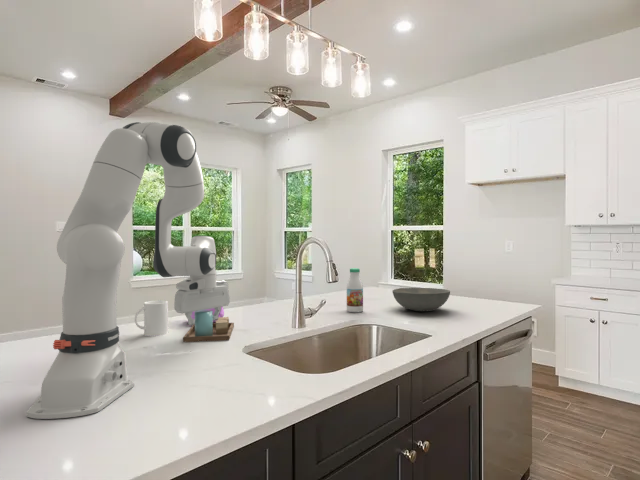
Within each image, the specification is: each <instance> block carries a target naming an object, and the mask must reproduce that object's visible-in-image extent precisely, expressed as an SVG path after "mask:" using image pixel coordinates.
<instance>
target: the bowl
mask: <svg viewBox="0 0 640 480" xmlns="http://www.w3.org/2000/svg"><path fill="white" fill-rule="evenodd" d="M392 295H393V297H394V299H395V301H396V303H398V304H399V305H400V306H401V307H403V308H405V309H407V310H410V311H414V312H431V311H434V310H437V309H440V308H441V307H442V306H444V304H446V302H447V301H448V299H449V298H450V295H451V291H450V290H449V289H445V288H437V287H399V288H395V289H392Z"/></svg>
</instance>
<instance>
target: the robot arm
mask: <svg viewBox="0 0 640 480" xmlns="http://www.w3.org/2000/svg"><path fill="white" fill-rule="evenodd" d="M93 160H94V161H93V163H92V165H91V167H90V170H89V172H88V176H87V178H86V181H85V183H84V185H83V188H82V191H81V192H80V194H79V197H78V199H77V201H76V202H75V204H74V206H73V208H72V210H71V213H70V214H69V216H68V218H67V221H66V222H65V224H64V226H63V228H62V230H61V233H60V235H59V237H58V240H57V242H56V251H57V252H56V253H57V256H58V257H59V259H60V260H61V261H62V262H63V263H64V264H65V265H66V266H65V267H66V269H65V280H64V288H63V295H62V299H61V300H62V301H61V302H62V303H61V304H62V332H61V333H60V337H59V338H58V339H55V340H54V341H53V343H52V347H53V350H58V353H57V355H56V357H55V359H54V361H53V362H52V364H51V365H50V368H49V369H48V371H47V373H46V374H45V377H44V378H43V379H42V382H41V389H40V396H39V397H38V398H37V400H35V402H34V403H33V404H32V405H31V406H30V407H29V408H28V410H27V411H26V417H27V418H31V419H38V420H39V419H42V420H43V419H46V420H48V419H49V420H50V419H52V420H53V419H64V418H66V419H67V418H74V417H75V418H76V417H81V416H86V415H87V416H88V415H91V414H95V413H98V412H100V411H103V410H104V408H106V407H107V406H109V405H110V404H111V403H112V402H114V401H115V400H117V399H118V398H119V397H121V396H122V395H124V394H125V393H126V392H127V391H129V390H131V389H132V388H133V387H134V386H135V383H134V381H133V380H131V379H128V369H127V358H126V352H125V350H123V348H121V346H120V344H119V341H120V329H119V326H118V323H117V321H118V320H117V316H118V315H117V295H118V294H117V292H118V287H119V286H118V285H119V280H120V275H121V274H120V273H121V267H122V260H123V258H124V257H123V256H124V254H125V243H124V240H123V238H122V236H121V235H120V234H119V232H118V231H119V229H120V227H121V225H122V223H123V222H124V220H125V218H126V216H127V215H129V213H130V211H131V210H132V206H133V205H134V204H133V203H134V201H135V198H136V196H137V193H138V190H139V187H140V184H141V182H142V179H143V175H144V172H145V169H146V166H147V164H152V165H155V166H161V167H162V169H163V170H162V171H163V180H164V195H163V197H162V198H161V199H159V200H158V202H157V204H156V207H155V225H154V250H153V251H154V253H153V261H152V262H153V263H152V266H153V269H154V272H156V273H157V274H158V275H159V276H160V277H161V278H172V277H188V278H186V279H184V280H182V281H181V280H180V281H179V282H177V283H176V286H175V287H176V288H175V289H176V290H177V291H176V292H175V295H174V304H173V305H174V307H173V308H174V311H175V312H176V313H178V314H181V315H182V314H184V316H185V317H186V319H187V322H188V323H187V324H188V325H189V326H193V325H194V324H195V319H192V317H191V315H192V312H194V311H200V310H205V309H211V308H214V309H215V313H214V315H213V320H218V315H219V313H220V311H221V307H223V308H224V307H227V306H229V304H230V303H231V301H230V299H231V298H230V297H231V296H230V292H229V282H227V281H225V280H217V270H216V266H217V250H216V249H217V248H216V243H215V242H216V241H215V239H214V238H213V236H209V235H195V236H193V237H191V239H190V240H191V241H190V245H188V246H176V245H173V244H172V222H173V220H174V219H175V218H177V217H179V216H183V215H185V214H188V213H190V212H192V211H193V210H196V208H197V207H198V208H199V206H200V205H201V204H202V202H203V200H204V197H205V184H204V177H203V172H202V171H203V169H202V167H201V163H200V160H199V156H198V153H197V142H196V139H195V137H194V135H193V134H192V131H190V130H189V129H188V128H186V127H184V126H181V125H177V124H167V123H160V122H154V121H153V122H147V121H146V122H130V123H127V124H126V125H124V126H123V127H122V128H114V129H112V130H111V131H110V132H109V134H108V135H107V136H106V137H105V139H104V141H103V143H102V144H101V146H100V148H99V150H98V151H97V153H96V155H95V158H94V159H93Z"/></svg>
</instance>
